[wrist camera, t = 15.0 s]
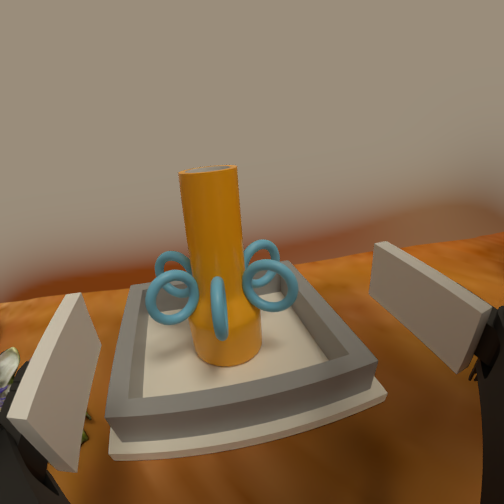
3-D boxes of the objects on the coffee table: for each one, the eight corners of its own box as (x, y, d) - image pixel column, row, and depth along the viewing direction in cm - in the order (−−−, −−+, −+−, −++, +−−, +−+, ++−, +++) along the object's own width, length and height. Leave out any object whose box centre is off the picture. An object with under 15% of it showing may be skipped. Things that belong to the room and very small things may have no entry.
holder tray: (293, 285, 36) (293, 255, 35) (384, 400, 18) (397, 364, 17) (132, 312, 32) (123, 282, 31) (114, 460, 14) (88, 429, 13)
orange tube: (199, 416, 18) (145, 194, 12) (145, 342, 25) (106, 182, 20) (320, 342, 24) (326, 163, 19) (248, 298, 32) (237, 158, 26)
